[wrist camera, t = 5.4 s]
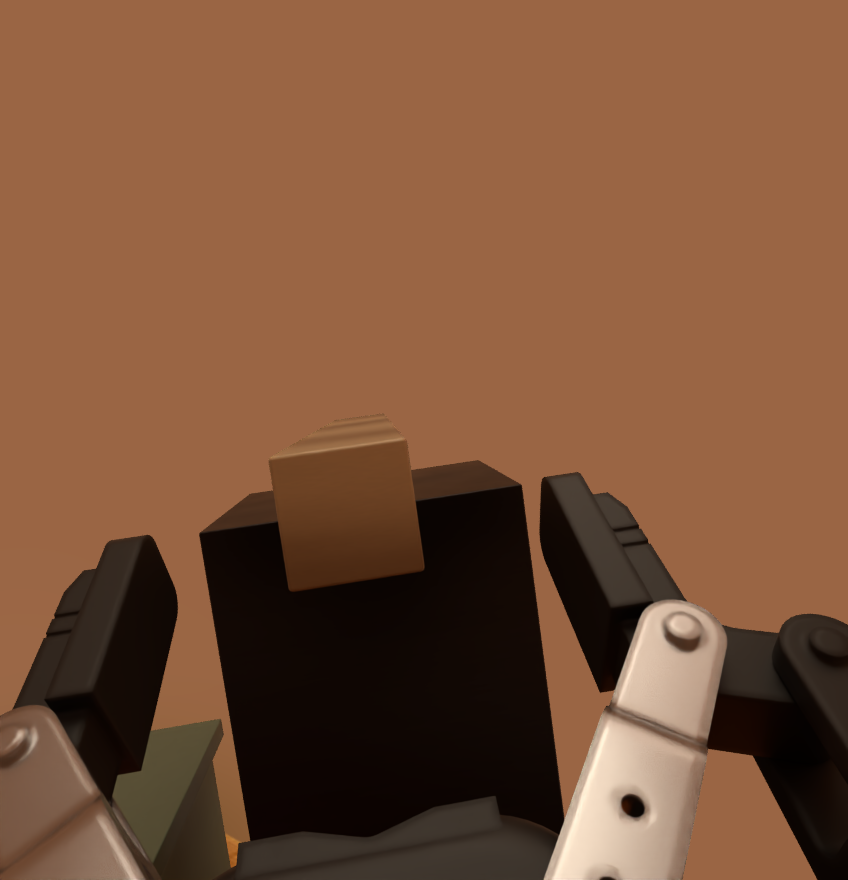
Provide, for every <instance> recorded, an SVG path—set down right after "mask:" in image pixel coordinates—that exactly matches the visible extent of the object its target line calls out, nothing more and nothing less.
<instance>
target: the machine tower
mask: <svg viewBox="0 0 848 880" xmlns="http://www.w3.org/2000/svg"><path fill="white" fill-rule="evenodd" d="M411 474H412V481H413V488H414V495H415V502H416V509H417V516H418V523H419V530H420V538H421V545H422V552H423V559H424V566H425V567H424V570H423V571H421V572H416V573H409V574H403V575H397V576H391V577H384V578H378V579H372V580H365V581H359V582H353V583H347V584H340V585H334V586H328V587H321V588H315V589H309V590H303V591H296V592H292V591H290V590H289V588H288V581H287V575H286V569H285V562H284V556H283V550H282V543H281V537H280V531H279V524H278V518H277V511H276V505H275V499H274V492H273V491H267V492H260V493H253V494H249V495H248V496H247V497H246V498H244V499H243V500H242V501H240V502H239V503H238V504H237V505H235V506H234V507H233V508H231V509H230V510H229V511H227V512H226V513H225V514H224V515H222V516H221V517H220V518H218V519H217V520H216V521H215V522H213V523H212V524H211V525H209V526H208V527H207V528H206V529H204V530H203V531H202V532H200V534H199V536H200V542H201V548H202V554H203V560H204V566H205V572H206V578H207V584H208V590H209V596H210V602H211V608H212V614H213V620H214V626H215V632H216V637H217V644H218V650H219V656H220V662H221V668H222V674H223V680H224V686H225V692H226V698H227V703H228V710H229V716H230V722H231V728H232V734H233V740H234V745H235V752H236V757H237V764H238V770H239V776H240V781H241V788H242V793H243V800H244V805H245V811H246V817H247V824H248V829H249V835H250V841H254V840H259V839H265V838H270V837H275V836H281V835H286V834H292V833H297V832H302V831H304V832H314V833H324V834H335V835H345V836H355V837H372V836H375V835H377V834H379V833H381V832H384V831H386V830H388V829H390V828H392V827H394V826H396V825H398V824H400V823H402V822H404V821H406V820H408V819H410V818H412V817H415V816H417V815H419V814H421V813H423V812H425V811H427V810H429V809H431V808H433V807H438V806H443V805H448V804H454V803H459V802H465V801H470V800H475V799H481V798H486V797H492V796H496V801H497V805H498V810H499V814H500V815H506V816H513V817H517V818H521V819H525V820H529V821H531V822H534V823H536V824H539V825H542V826H544V827H545V828H547V829H549V830H551V831H553V832H555V833H557V834H558V835H560V832H561V829H562V826H563V823H564V812H563V805H562V796H561V789H560V781H559V773H558V766H557V757H556V749H555V742H554V734H553V726H552V718H551V710H550V703H549V694H548V687H547V679H546V671H545V663H544V655H543V648H542V641H541V632H540V624H539V617H538V608H537V602H536V593H535V585H534V578H533V569H532V561H531V553H530V546H529V538H528V530H527V522H526V515H525V507H524V499H523V491H522V485H521V484H519V483H518V482H516V481H514V480H512V479H510V478H509V477H507V476H505V475H503V474H502V473H500V472H498V471H496V470H495V469H493V468H491V467H489V466H488V465H486V464H484V463H482V462H480V461H478V460H477V461H470V462H463V463H457V464H450V465H443V466H436V467H430V468H424V469H416V470H411Z"/></svg>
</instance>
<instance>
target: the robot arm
mask: <svg viewBox="0 0 848 880" xmlns="http://www.w3.org/2000/svg"><path fill="white" fill-rule="evenodd" d="M540 543H541V548H542V552H543V556H544V559H545V562H546V564H547V567H548V569H549V571H550V574H551V576H552V579H553V581H554V584H555V586H556V588H557V590H558V593H559V596H560V598H561V600H562V603H563V605H564V607H565V610H566V612H567V615H568V617H569V619H570V622H571V624H572V627H573V629H574V631H575V633H576V636H577V639H578V641H579V643H580V646H581V648H582V651H583V653H584V655H585V658H586V660H587V663H588V665H589V667H590V670H591V672H592V675H593V677H594V679H595V682H596V684H597V686H598V689H599V691H600V693H601V692H607V691H613V690H615V691H614V695H613V697H612V700H611V703H610V705H609V706H606V708H605V709H604V711H603V713H602V716H601V719H600V721H599V724H598V727H597V730H596V733H595V735H594V738H593V741H592V744H591V747H590V750H589V752H588V755H587V758H586V761H585V764H584V767H583V770H582V772H581V775H580V778H579V781H578V784H577V786H576V789H575V792H574V795H573V798H572V801H571V803H570V806H569V809H568V812H567V815H566V818H565V820H564V823H563V826H562V829H561V832H560V835H558V834H557V833H555V832H553V831H551V830H549V829H547V828H545V827H544V826H542V825H539V824H536V823H534V822H531V821H529V820H525V819H521V818H517V817H513V816H506V815H500V814H499V810H498V805H497V801H496V796H492V797H486V798H481V799H475V800H470V801H465V802H459V803H454V804H448V805H443V806H438V807H433V808H431V809H429V810H427V811H425V812H423V813H421V814H419V815H417V816H415V817H412V818H410V819H408V820H406V821H404V822H402V823H400V824H398V825H396V826H394V827H392V828H390V829H388V830H386V831H384V832H381V833H379V834H377V835H375V836H372V837H355V836H345V835H335V834H324V833H314V832H304V831H302V832H297V833H292V834H286V835H281V836H275V837H270V838H265V839H259V840H254V841H248V842H243V843H239V844H238V855H237V865H236V866H234V867H232V868H230V869H228V870H227V871H225V872H223V873H222V874H220V875H219V876H217V877H216V878H214V879H213V880H682V879H683V874H684V869H685V864H686V858H687V854H688V849H689V844H690V839H691V834H692V829H693V824H694V819H695V813H696V809H697V804H698V799H699V794H700V789H701V784H702V779H703V774H704V769H705V764H706V759H707V753H708V749H714V750H720V751H726V752H733V753H740V754H746V755H753V757H754V759H755V761H756V762H757V765H758V766H759V768H760V770H761V772H762V774H763V776H764V778H765V780H766V782H767V784H768V786H769V788H770V789H771V791H772V793H773V795H774V797H775V799H776V801H777V803H778V805H779V807H780V809H781V811H782V813H783V814H784V816H785V818H786V820H787V822H788V824H789V826H790V828H791V830H792V832H793V834H794V835H795V837H796V839H797V841H798V843H799V845H800V847H801V849H802V851H803V853H804V855H805V856H806V858H807V860H808V862H809V864H810V866H811V868H812V870H813V872H814V874H815V876H816V878H817V880H848V625H847V624H845V623H843V622H841V621H839V620H836V619H834V618H831V617H827V616H822V615H817V614H802V615H796V616H794V617H791V618H790V619H788V620H787V621H786V622H785V623H784V624H783V625H782V627H781V629H780V632H779V633H771V632H763V631H754V630H745V629H737V628H731V627H727V626H724V625H721V623H720V622H719V621H718V620H717V619H716V618H715V617H714V616H713V615H712V614H711V613H710V612H708V611H707V610H705V609H704V608H702V607H700V606H698V605H695V604H693V603H690V602H687V600H686V599H685V598H684V597H683V595H682V593H681V591H680V590H679V588H678V587H677V585H676V583H675V582H674V580H673V579H672V577H671V576H670V574H669V572H668V571H667V569H666V568H665V566H664V564H663V563H662V561H661V560H660V558H659V557H658V555H657V553H656V552H655V550H654V549H653V547H652V545H651V544H649V543H648V539H647V538H646V536H645V535H644V533H643V531H642V530H641V529H639V525H638V523H637V522H636V520H635V519H634V517H633V515H632V514H631V512H630V511H629V509H628V507H627V506H625V505H624V504H623V503H621V502H620V501H619V500H617V499H616V498H614V497H613V496H612V495H610V494H609V493H608V492H607V493H600V494H594V495H593V494H592V492H591V491H590V489H589V488H588V486H587V484H586V482H585V480H584V478H583V477H582V476H581V474H580V473H578V472H575V473H569V474H563V475H555V476H549V477H544V478H543V479H542V482H541V503H540ZM177 613H178V602H177V594H176V590H175V587H174V585H173V582H172V580H171V578H170V575H169V573H168V570H167V568H166V566H165V563H164V561H163V559H162V557H161V554H160V552H159V550H158V547H157V545H156V543H155V541H154V539H153V538H152V537H151V536H150V535H144V536H138V537H131V538H124V539H118V540H111V541H109V542H108V543H107V544H106V546H105V548H104V551H103V553H102V556H101V558H100V561H99V563H98V566H97V568H96V569H92V570H85V571H83V572H82V573H81V574H80V575H79V576H78V578H77V579H76V580H75V581H74V582H73V583H72V584H71V585H70V586H69V588H67V590H66V591H65V592H64V594H63V596H62V598H61V601H60V603H59V605H58V607H57V610H56V612H55V614H54V616H55V619H52V621H51V623H50V626H49V628H48V630H47V632H46V635H47V636H46V638H44V639H43V642H42V644H41V646H40V648H39V651H38V653H37V655H36V657H35V660H34V662H33V664H32V667H31V669H30V671H29V674H28V676H27V678H26V680H25V683H24V685H23V687H22V689H21V692H20V694H19V696H18V699H17V701H16V703H15V705H14V707H13V709H12V710H11V711H9V712H7V713H5V714H3V715H1V716H0V880H162V879H161V877H160V875H159V874H158V872H157V870H156V869H155V867H154V865H153V864H152V862H151V860H150V858H149V857H148V855H147V853H146V852H145V850H144V848H143V846H142V845H141V843H140V841H139V840H138V838H137V836H136V834H135V833H134V831H133V829H132V828H131V826H130V824H129V822H128V821H127V819H126V817H125V816H124V814H123V812H122V810H121V809H120V807H119V805H118V804H117V802H116V800H115V799H114V797H113V796H112V795H113V792H114V788H115V784H116V780H117V776H118V775H121V774H127V773H133V772H138V771H141V770H142V766H143V761H144V757H145V753H146V748H147V744H148V740H149V735H150V731H151V726H152V723H153V718H154V714H155V710H156V705H157V701H158V697H159V693H160V688H161V684H162V680H163V675H164V671H165V667H166V662H167V658H168V654H169V650H170V645H171V641H172V637H173V633H174V628H175V624H176V620H177Z"/></svg>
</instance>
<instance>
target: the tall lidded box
mask: <svg viewBox="0 0 848 880" xmlns="http://www.w3.org/2000/svg"><path fill="white" fill-rule="evenodd" d="M223 735H224V734H223V729H222V722H221V719H217V720H211V721H205V722H200V723H194V724H189V725H183V726H176V727H171V728H165V729H160V730H154V731H150V735H149V740H148V744H147V748H146V753H145V757H144V761H143V766H142V770H141V771H138V772H133V773H127V774H121V775H118V776H117V780H116V784H115V788H114V792H113V795H112V796H113V797H114V799H115V800H116V802H117V804H118V805H119V807H120V809H121V810H122V812H123V814H124V816H125V817H126V819H127V821H128V822H129V824H130V826H131V828H132V829H133V831H134V833H135V834H136V836H137V838H138V840H139V841H140V843H141V845H142V846H143V848H144V850H145V852H146V853H147V855H148V857H149V858H150V860H151V862H152V864H153V865H154V867H155V869H156V870H157V872H158V874H159V875H160V877H161V879H162V880H213V879H214V878H216V877H217V876H219V875H220V874H222V873H223V872H225V871H227V870H228V869H230V868H231V867H230V861H229V855H228V849H227V843H226V837H225V832H224V825H223V820H222V814H221V808H220V802H219V797H218V790H217V785H216V778H215V773H214V767H213V761H212V760H213V757H214V756H215V753H216V751H217V749H218V746H219V744H220V742H221V740H222V737H223Z"/></svg>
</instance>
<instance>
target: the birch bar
mask: <svg viewBox="0 0 848 880" xmlns="http://www.w3.org/2000/svg"><path fill="white" fill-rule="evenodd" d="M269 467H270V473H271V479H272V486H273V492H274V499H275V505H276V511H277V518H278V524H279V531H280V537H281V543H282V550H283V556H284V562H285V569H286V575H287V581H288V588H289V590H290V591H292V592H296V591H303V590H309V589H315V588H321V587H328V586H334V585H340V584H347V583H353V582H359V581H365V580H372V579H378V578H384V577H391V576H397V575H403V574H409V573H416V572H421V571H423V570H424V567H425V566H424V559H423V552H422V545H421V538H420V530H419V523H418V516H417V509H416V502H415V495H414V488H413V481H412V474H411V466H410V460H409V452H408V445H407V441H406V439H405V438H404V437H403V435H402V434H401V433H400V432H399V431H398V430H397V428H396V427H395V426H394V425H393V424H392V423H391V422H390V420H389V419H388V418H387V417H386V416H385V415H384V414H377V415H370V416H363V417H356V418H349V419H342V420H335V421H333V422H332V423H330V424H328V425H326V426H325V427H323V428H321V429H319V430H318V431H316V432H314V433H312V434H311V435H309V436H307V437H305V438H304V439H302V440H300V441H298V442H297V443H295V444H293V445H291V446H290V447H288V448H286V449H284V450H282V451H281V452H279V453H277V454H276V455H274V456H272V457H270V458H269Z"/></svg>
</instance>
